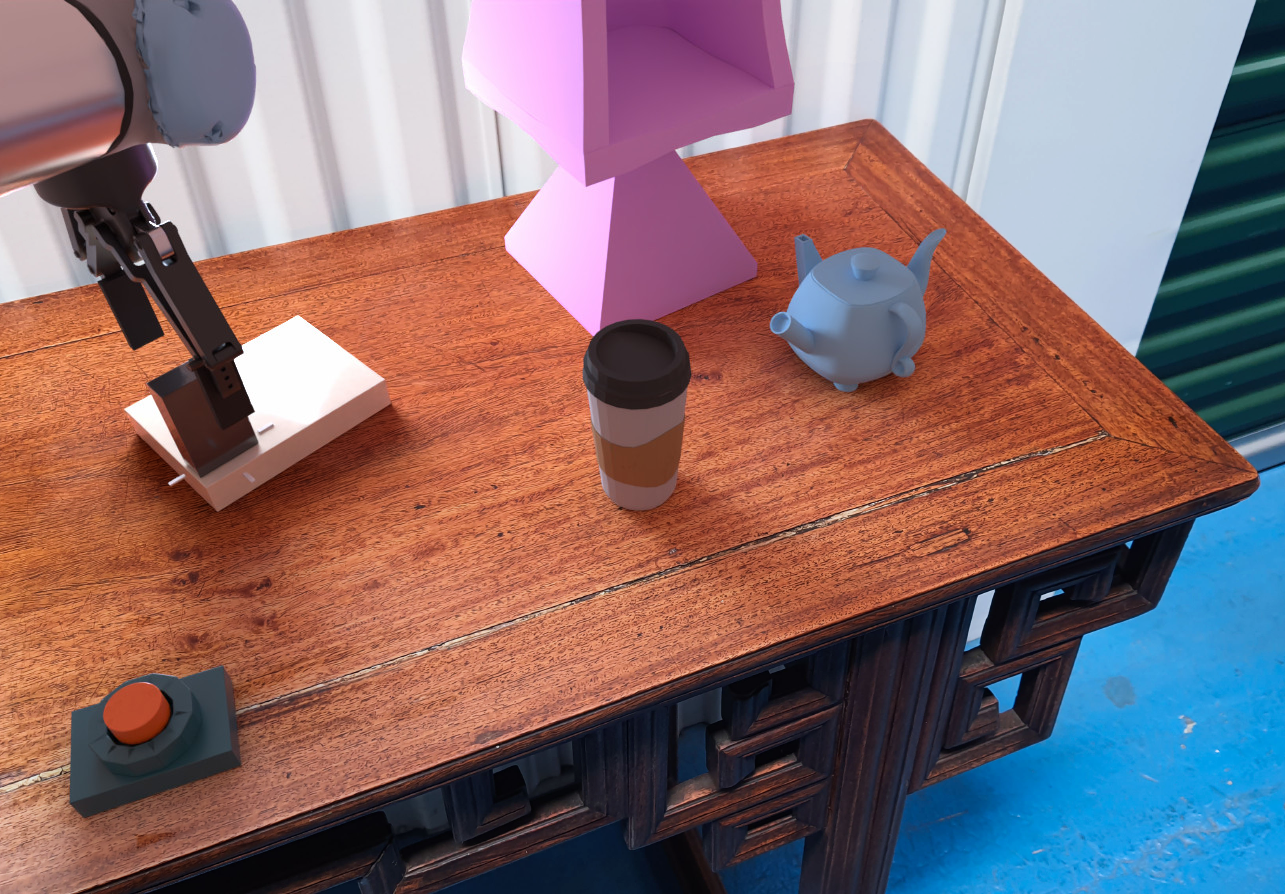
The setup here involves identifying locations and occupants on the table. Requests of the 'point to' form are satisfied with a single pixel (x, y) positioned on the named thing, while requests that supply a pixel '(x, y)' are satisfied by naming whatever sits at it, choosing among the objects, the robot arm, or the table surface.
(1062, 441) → the table surface
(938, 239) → the teapot
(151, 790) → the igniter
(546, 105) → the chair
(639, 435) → the coffee cup
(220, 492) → the switch panel
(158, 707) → the button
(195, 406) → the dark slab
